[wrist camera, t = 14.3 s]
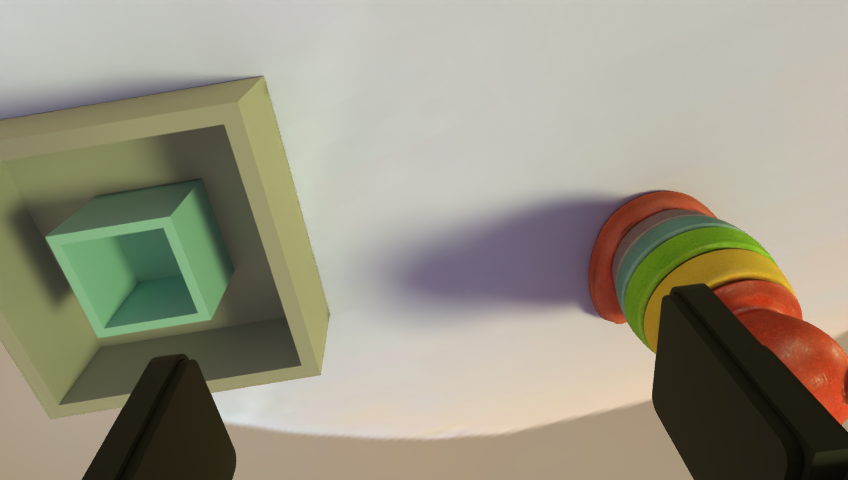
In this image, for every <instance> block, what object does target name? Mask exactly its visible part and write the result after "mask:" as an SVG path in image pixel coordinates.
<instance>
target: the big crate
mask: <svg viewBox="0 0 848 480" xmlns="http://www.w3.org/2000/svg"><path fill="white" fill-rule="evenodd" d="M200 178H202V180H203V183H204V186H205V189H206V191H207V194H208V197H209V200H210V203H211V205H212V208H213V211H214V214H215V217H216V219H217V222H218V225H219V228H220V231H221V233H222V236H223V239H224V242H225V245H226V247H227V250H228V253H229V256H230V259H231V262H232V264H233V267H234V270H235V271H234V273H233V275H232V277H231V279H230V281H229V283H228V285H227V288H226V290H225V292H224V294H223V296H222V298H221V300H220V302H219V304H218V306H217V309H216V311H215V313H214V315H213V317H212V319H211V320H206V321H200V322H194V323H188V324H182V325H176V326H170V327H163V328H157V329H151V330H145V331H139V332H133V333H127V334H121V335H115V336H108V337H102V338H98V337H97V335H96V333H95V331H94V329H93V328H92V326H91V324H90V322H89V320H88V318H87V316H86V314H85V312H84V310H83V308H82V307H81V305H80V303H79V301H78V299H77V297H76V295H75V293H74V291H73V289H72V287H71V286H70V284H69V282H68V280H67V278H66V276H65V274H64V272H63V270H62V268H61V266H60V265H59V263H58V261H57V259H56V257H55V255H54V253H53V251H52V249H51V247H50V245H49V244H48V242H47V240H46V238H45V237H46V236H47V235H48V234H49V233H51V232H52V231H53V230H54V229H56V228H57V227H58V226H59V225H60V224H62V223H63V222H64V221H65V220H67V219H68V218H69V217H70V216H71V215H73V214H74V213H75V212H76V211H78V210H79V209H80V208H81V207H82V206H84V205H85V204H86V203H87V202H89V201H90V200H91V199H92V198H93V197H95V196H97V195H103V194H109V193H115V192H121V191H128V190H134V189H140V188H146V187H152V186H158V185H164V184H170V183H176V182H182V181H188V180H194V179H200ZM329 315H330V313H329V310H328V306H327V302H326V299H325V295H324V291H323V288H322V284H321V281H320V277H319V273H318V270H317V266H316V263H315V259H314V255H313V252H312V248H311V244H310V241H309V237H308V234H307V230H306V226H305V223H304V219H303V216H302V212H301V208H300V205H299V201H298V197H297V194H296V190H295V187H294V183H293V179H292V176H291V172H290V169H289V165H288V161H287V158H286V154H285V150H284V147H283V143H282V140H281V136H280V132H279V129H278V125H277V121H276V118H275V114H274V111H273V107H272V103H271V100H270V96H269V93H268V89H267V85H266V82H265V78H264V76H261V77H255V78H249V79H243V80H237V81H231V82H225V83H219V84H213V85H207V86H201V87H195V88H189V89H183V90H177V91H171V92H165V93H159V94H153V95H147V96H141V97H135V98H129V99H123V100H117V101H111V102H105V103H99V104H93V105H87V106H81V107H75V108H69V109H63V110H58V111H52V112H46V113H40V114H34V115H28V116H22V117H16V118H10V119H4V120H0V340H1V341H2V343H3V345H4V346H5V348H6V349H7V351H8V353H9V354H10V356H11V357H12V359H13V360H14V362H15V363H16V365H17V367H18V369H19V370H20V372H21V373H22V375H23V376H24V378H25V380H26V381H27V383H28V385H29V386H30V388H31V389H32V391H33V392H34V394H35V396H36V397H37V399H38V400H39V402H40V404H41V405H42V407H43V408H44V410H45V412H46V413H47V415H48V416H49V418H50V419H54V418H60V417H66V416H73V415H78V414H85V413H91V412H97V411H103V410H109V409H116V408H121V407H124V405H125V403H126V401H127V400H128V398H129V396H130V394H131V393H132V391H133V389H134V387H135V386H136V384H137V382H138V380H139V379H140V377H141V375H142V373H143V372H144V370H145V368H146V366H147V365H148V363H149V362H150V360H151V359H152V358H154V357H159V356H166V355H174V354H181V353H182V354H185V355H186V356H187V357H188V358H189V360H191V359H194V360H196V361H197V363H198V365H199V367H200V369H201V372H202V374H203V376H204V379H205V381H206V383H207V386H208V388H209V390H210V393H214V392H220V391H226V390H232V389H238V388H244V387H250V386H256V385H262V384H269V383H275V382H281V381H287V380H293V379H299V378H305V377H311V376H318V375H321V369H322V363H323V356H324V349H325V342H326V336H327V329H328V322H329Z"/></svg>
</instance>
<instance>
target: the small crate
mask: <svg viewBox="0 0 848 480" xmlns="http://www.w3.org/2000/svg"><path fill="white" fill-rule="evenodd" d="M45 238H46V240H47V242H48V244H49V245H50V247H51V249H52V251H53V253H54V255H55V257H56V259H57V261H58V263H59V265H60V266H61V268H62V270H63V272H64V274H65V276H66V278H67V280H68V282H69V284H70V286H71V287H72V289H73V291H74V293H75V295H76V297H77V299H78V301H79V303H80V305H81V307H82V308H83V310H84V312H85V314H86V316H87V318H88V320H89V322H90V324H91V326H92V328H93V329H94V331H95V333H96V335H97V337H98V338H102V337H108V336H115V335H121V334H127V333H133V332H139V331H145V330H151V329H157V328H163V327H170V326H176V325H182V324H188V323H194V322H200V321H206V320H211V319H212V317H213V315H214V313H215V311H216V309H217V306H218V304H219V302H220V300H221V298H222V296H223V294H224V292H225V290H226V288H227V285H228V283H229V281H230V279H231V277H232V275H233V273H234V271H235V270H234V267H233V264H232V262H231V259H230V256H229V253H228V250H227V247H226V245H225V242H224V239H223V236H222V233H221V231H220V228H219V225H218V222H217V219H216V217H215V214H214V211H213V208H212V205H211V203H210V200H209V197H208V194H207V191H206V189H205V186H204V183H203V180H202V178H200V179H194V180H188V181H182V182H176V183H170V184H164V185H158V186H152V187H146V188H140V189H134V190H128V191H121V192H115V193H109V194H103V195H97V196H95V197H93V198H92V199H91V200H90V201H89V202H87V203H86V204H85V205H84V206H82V207H81V208H80V209H79V210H78V211H76V212H75V213H74V214H73V215H71V216H70V217H69V218H68V219H67V220H65V221H64V222H63V223H62V224H60V225H59V226H58V227H57V228H56V229H54V230H53V231H52V232H51V233H49V234H48V235H47V236H46V237H45Z"/></svg>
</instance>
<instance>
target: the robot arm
mask: <svg viewBox="0 0 848 480" xmlns="http://www.w3.org/2000/svg"><path fill="white" fill-rule="evenodd" d="M652 400H653V404H654V408H655V410H656V413H657V415H658V416H659V418H660V420H661V422H662V424H663V425H664V427H665V429H666V431H667V432H668V434H669V436H670V438H671V439H672V441H673V443H674V445H675V447H676V449H677V450H678V452H679V454H680V456H681V457H682V459H683V461H684V463H685V465H686V466H687V468H688V470H689V472H690V473H691V475H692V477H693V479H694V480H848V432H847V431H846V430H845V429H844V428H843V427H842V425H841V424H840V423H839V422H838V421H837V420H836V419H835V418H834V417H833V416H832V415H831V414H830V413H829V411H828V410H827V409H826V408H825V407H824V406H823V405H822V404H821V403H820V402H819V401H818V400H817V399H816V398H815V396H814V395H813V394H812V393H811V392H810V391H809V390H808V389H807V388H806V387H805V386H804V385H803V384H802V382H801V381H800V380H799V379H798V378H797V377H796V376H795V375H794V374H793V373H792V372H791V371H790V370H789V369H788V367H787V366H786V365H785V364H784V363H783V362H782V361H781V360H780V359H779V358H778V357H777V356H776V355H775V353H774V352H773V351H771V350H770V349H769V348H768V347H767V346H765V345H762V344H761V343H760V342H759V341H758V340H757V339H756V338H755V337H754V336H753V334H752V333H751V332H750V331H749V330H748V329H747V328H746V327H745V326H744V325H743V324H742V323H741V321H740V320H739V319H738V318H737V317H736V316H735V315H734V314H733V313H732V312H731V311H730V310H729V308H728V307H727V306H726V305H725V304H724V303H723V302H722V301H721V300H720V299H719V298H718V296H717V295H716V294H715V293H714V292H713V291H712V290H711V289H710V288H709V287H708V286H707V285H706V284H704V283H698V284H690V285H683V286H676V287H673V288H672V289H671V291H670V294H669V295H665V296H663V298H662V302H661V311H660V321H659V331H658V341H657V351H656V361H655V371H654V380H653V390H652ZM235 468H236V453H235V449H234V447H233V445H232V443H231V440H230V438H229V435H228V433H227V430H226V428H225V426H224V423H223V421H222V419H221V416H220V414H219V412H218V409H217V407H216V405H215V402H214V400H213V398H212V395H211V393H210V390H209V388H208V386H207V383H206V381H205V379H204V376H203V374H202V372H201V369H200V367H199V365H198V363H197V361H196V360H194V359H191V360H189V358H188V357H187V356H186V355H185V354H182V353H181V354H174V355H166V356H159V357H154V358H152V359H151V360H150V362H149V363H148V365H147V366H146V368H145V370H144V372H143V373H142V375H141V377H140V379H139V380H138V382H137V384H136V386H135V387H134V389H133V391H132V393H131V394H130V396H129V398H128V400H127V401H126V403H125V405H124V407H123V408H122V410H121V412H120V414H119V416H118V417H117V419H116V421H115V422H114V424H113V426H112V428H111V429H110V431H109V433H108V435H107V436H106V438H105V440H104V442H103V443H102V445H101V447H100V449H99V450H98V452H97V454H96V456H95V457H94V459H93V461H92V463H91V465H90V466H89V468H88V470H87V471H86V473H85V475H84V477H83V478H82V480H232V478H233V475H234V472H235Z"/></svg>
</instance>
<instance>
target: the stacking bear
mask: <svg viewBox="0 0 848 480" xmlns="http://www.w3.org/2000/svg"><path fill="white" fill-rule="evenodd" d="M698 283H704V284H706V285H707V286H708V287H709V288H710V289H711V290H712V291H713V292H714V293H715V294H716V295H717V296H718V298H719V299H720V300H721V301H722V302H723V303H724V304H725V305H726V306H727V307H728V308H729V310H730V311H731V312H732V313H733V314H734V315H735V316H736V317H737V318H738V319H739V320H740V321H741V323H742V324H743V325H744V326H745V327H746V328H747V329H748V330H749V331H750V332H751V333H752V334H753V336H754V337H755V338H756V339H757V340H758V341H759V342H760V343H761V344H762V345H765V346H767V347H768V348H769V349H770V350H771V351H773V352H774V353H775V355H776V356H777V357H778V358H779V359H780V360H781V361H782V362H783V363H784V364H785V365H786V366H787V367H788V369H789V370H790V371H791V372H792V373H793V374H794V375H795V376H796V377H797V378H798V379H799V380H800V381H801V382H802V384H803V385H804V386H805V387H806V388H807V389H808V390H809V391H810V392H811V393H812V394H813V395H814V396H815V398H816V399H817V400H818V401H819V402H820V403H821V404H822V405H823V406H824V407H825V408H826V409H827V410H828V411H829V413H830V414H831V415H832V416H833V417H834V418H835V419H836V420H837V421H838V422H839V423H840V424H841V425H842V424H843V422H845V421H846V419H847V418H848V356H847V355H846V353H845V352H844V350H843V349H842V348H841V347H840V345H839V344H838V343H837V342H836V341H835V340H833V339H832V338H831V337H830V336H829V335H828V334H826V333H825V332H823V331H822V330H820V329H819V328H817V327H815V326H814V325H812V324H810V323H808V322H806V321H803V320H802V311H801V308H800V305H799V303H798V300H797V299H796V296H795V294H794V291H793V289H792V287H791V285H790V284H789V282H788V280H787V279H786V277H785V276H784V274H783V273H782V272H781V270H780V269H779V268H778V266H777V264H776V262H775V261H774V260H773V258H772V257H771V256H770V255H769V253H768V252H767V251H766V250H765V249H764V248H763V247H762V246H761V245H760V244H759V243H758V242H757V241H756V240H755V239H753V238H752V237H751V236H749V235H748V234H747V233H745V232H744V231H742V230H740V229H739V228H737V227H735V226H733V225H731V224H729V223H727V222H725V221H722V220H719V219H717V218H716V216H715V215H714V214H713V213H712V212H711V211H710V210H709V209H708V208H707V207H705V206H704V205H703V204H702V203H700V202H699V201H697V200H696V199H694V198H693V197H691V196H689V195H686V194H683V193H679V192H673V191H662V192H654V193H650V194H646V195H643V196H640V197H638V198H636V199H634V200H632V201H630V202H629V203H627V204H625V205H624V206H622V207H621V208H620V209H619V210H617V211H616V212H615V213H614V214H613V215H612V216H611V217H610V218H609V220H608V221H607V222H606V223H605V225H604V226H603V228H602V230H601V232H600V234H599V236H598V238H597V241H596V243H595V246H594V249H593V253H592V256H591V261H590V268H589V287H590V293H591V297H592V300H593V303H594V306H595V308H596V310H597V312H598V313H599V315H600V316H601V317H602V318H603V319H605V320H608V321H612V322H614V323H616V324H623V323H626V322H628V324H629V325H630V327H631V329H632V330H633V332H634V333H635V334H636V335H637V337H638V338H639V339H640V340H641V341H642V342H643V343H644V344H645V345H646V346H647V347H648V348H649V349H650V350H651V351H653V352H654V353H655V354H656V351H657V341H658V331H659V321H660V311H661V302H662V298H663V296H665V295H669V294H670V291H671V289H672V288H673V287H676V286H683V285H690V284H698Z"/></svg>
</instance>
